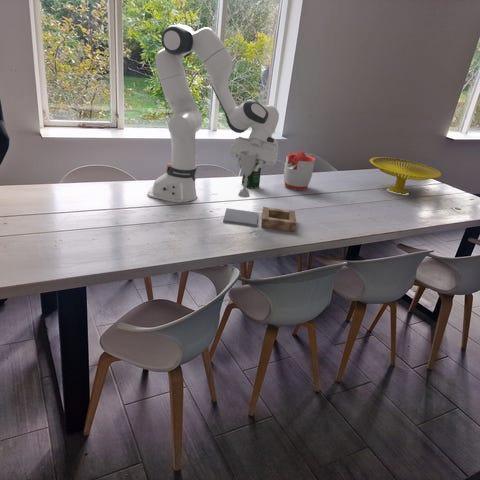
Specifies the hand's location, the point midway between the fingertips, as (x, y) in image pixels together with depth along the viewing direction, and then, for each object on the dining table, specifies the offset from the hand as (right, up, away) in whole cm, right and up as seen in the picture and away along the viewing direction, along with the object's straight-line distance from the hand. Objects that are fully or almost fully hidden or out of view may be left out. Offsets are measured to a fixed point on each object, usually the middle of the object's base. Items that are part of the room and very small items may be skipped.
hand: (246, 168), depth 174 cm
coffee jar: (+3, -1, +52) cm, 53 cm away
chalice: (-1, -11, +6) cm, 12 cm away
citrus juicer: (+27, -1, +60) cm, 65 cm away
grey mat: (-2, -20, +10) cm, 22 cm away
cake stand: (+90, -1, +77) cm, 118 cm away
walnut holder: (+13, -22, +10) cm, 27 cm away
